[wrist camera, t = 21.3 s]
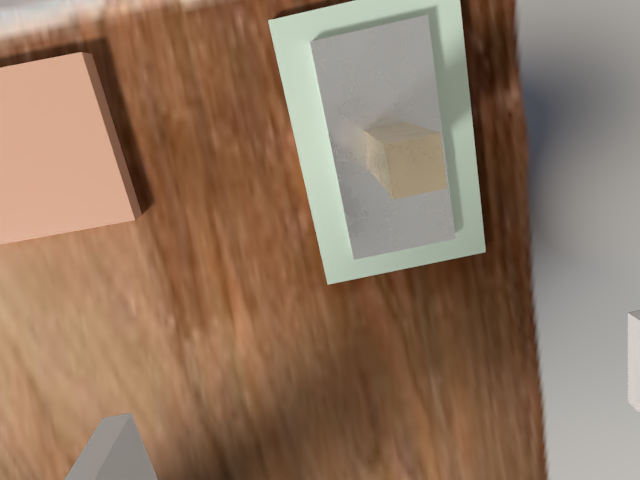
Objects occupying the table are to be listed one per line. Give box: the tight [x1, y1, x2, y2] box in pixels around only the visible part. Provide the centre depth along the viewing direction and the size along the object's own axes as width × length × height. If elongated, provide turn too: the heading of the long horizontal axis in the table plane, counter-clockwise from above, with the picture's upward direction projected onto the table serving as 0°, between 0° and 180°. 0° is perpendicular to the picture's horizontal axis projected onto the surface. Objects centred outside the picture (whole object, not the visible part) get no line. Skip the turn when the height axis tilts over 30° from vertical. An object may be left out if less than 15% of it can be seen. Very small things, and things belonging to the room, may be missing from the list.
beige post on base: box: [310, 15, 456, 260], centre depth 29 cm, size 16×8×10 cm, turn 12°
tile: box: [0, 52, 142, 244], centre depth 34 cm, size 2×12×12 cm
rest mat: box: [268, 0, 486, 284], centre depth 34 cm, size 20×13×1 cm, turn 12°
